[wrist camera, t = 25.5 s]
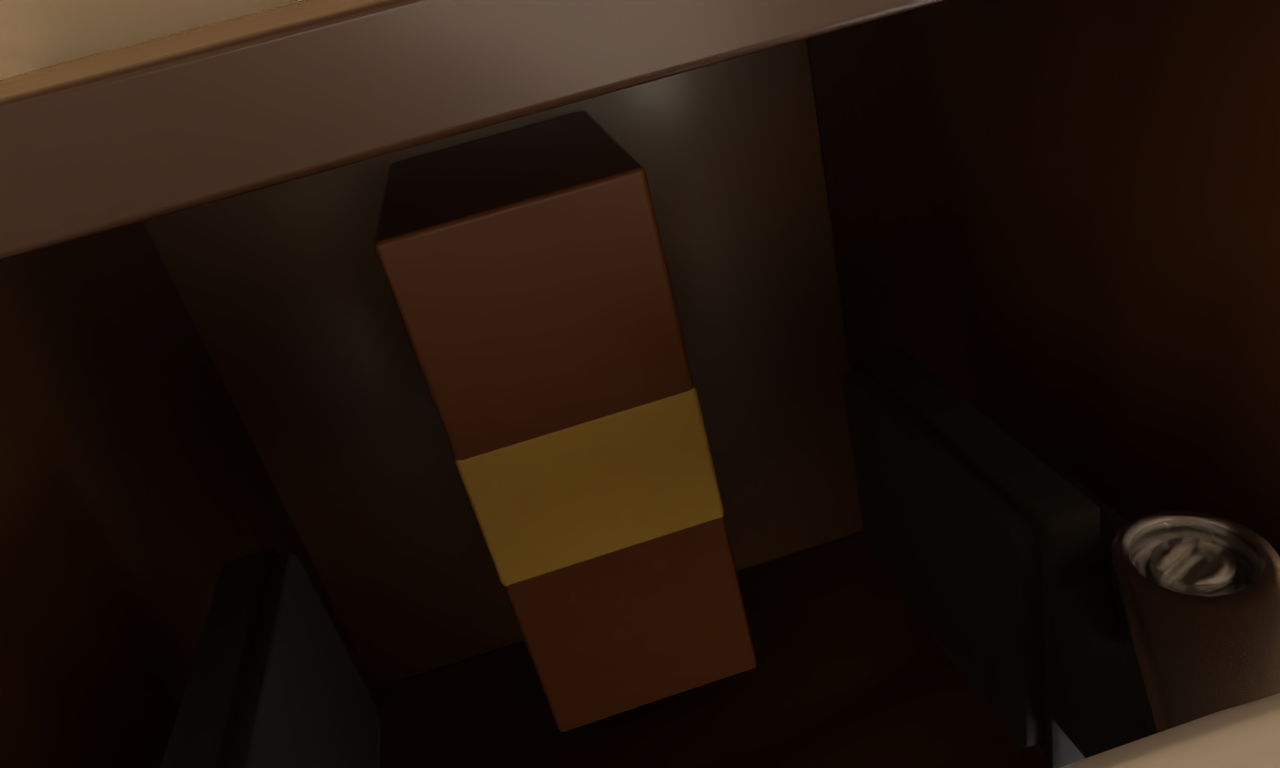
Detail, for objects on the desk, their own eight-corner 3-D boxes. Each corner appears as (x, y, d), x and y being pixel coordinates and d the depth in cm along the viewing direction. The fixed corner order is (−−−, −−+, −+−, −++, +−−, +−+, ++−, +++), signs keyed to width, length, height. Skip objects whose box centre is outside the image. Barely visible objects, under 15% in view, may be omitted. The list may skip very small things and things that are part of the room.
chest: (31, 71, 15) (-920, 340, 4) (810, -131, 16) (1532, -301, 6) (357, 699, 22) (286, 1400, 11) (890, 525, 23) (1286, 1012, 12)
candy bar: (530, 562, 20) (559, 736, 15) (387, 163, 16) (369, 244, 11) (687, 512, 20) (760, 669, 16) (587, 108, 16) (647, 165, 12)
